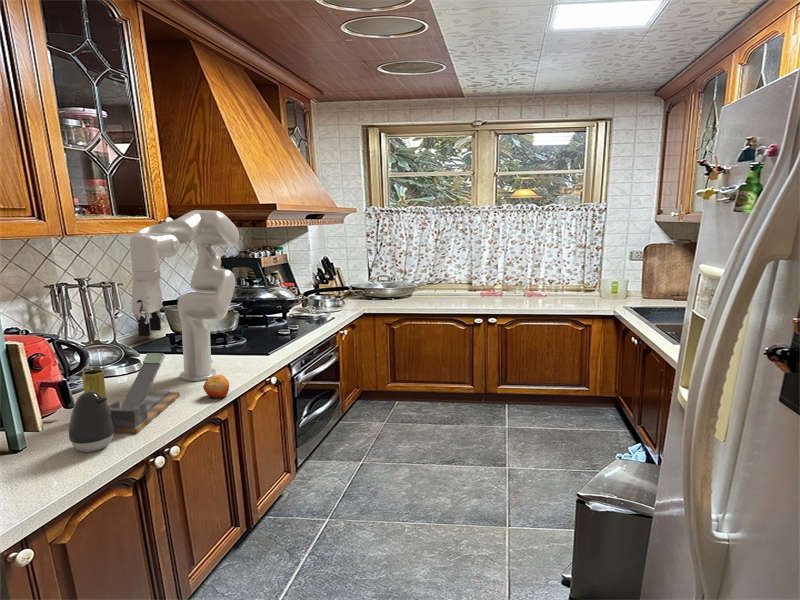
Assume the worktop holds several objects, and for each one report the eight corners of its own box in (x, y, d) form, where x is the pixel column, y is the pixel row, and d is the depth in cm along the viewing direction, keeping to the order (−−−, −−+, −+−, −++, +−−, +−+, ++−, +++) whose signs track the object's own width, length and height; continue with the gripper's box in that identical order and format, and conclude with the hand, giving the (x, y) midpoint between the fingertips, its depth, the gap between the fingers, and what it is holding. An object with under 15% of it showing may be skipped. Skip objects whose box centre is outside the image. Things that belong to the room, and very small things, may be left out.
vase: (81, 423, 141) (77, 375, 138) (88, 414, 146) (84, 369, 144) (105, 421, 142) (101, 374, 140) (111, 413, 148) (107, 367, 146)
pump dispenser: (93, 459, 121) (87, 401, 118) (60, 453, 123) (54, 396, 121) (126, 441, 130) (122, 387, 128) (95, 436, 133) (90, 382, 130)
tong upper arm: (147, 356, 156) (146, 353, 155) (166, 356, 156) (165, 353, 155) (116, 417, 139) (114, 414, 138) (137, 418, 139) (136, 414, 138)
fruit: (234, 386, 169) (230, 371, 164) (228, 404, 163) (224, 389, 158) (210, 385, 169) (205, 370, 164) (204, 404, 163) (198, 389, 158)
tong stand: (149, 396, 162) (148, 377, 161) (179, 396, 162) (178, 378, 161) (100, 433, 135) (98, 411, 134) (137, 433, 135) (135, 411, 134)
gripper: (147, 272, 157) (151, 326, 160) (118, 279, 140) (123, 340, 143) (171, 272, 157) (174, 327, 160) (145, 280, 140) (148, 340, 143)
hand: (150, 332), depth 151 cm, fingers open, 6 cm apart
